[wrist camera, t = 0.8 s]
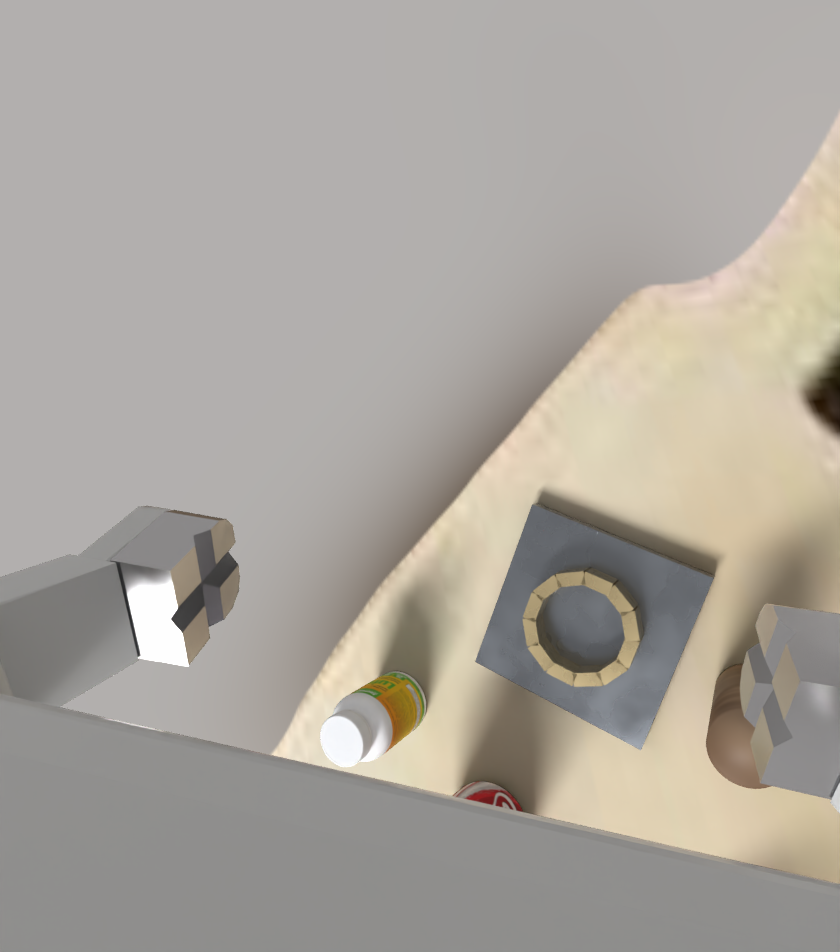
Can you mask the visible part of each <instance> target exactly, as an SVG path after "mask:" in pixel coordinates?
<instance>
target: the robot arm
mask: <svg viewBox="0 0 840 952" xmlns="http://www.w3.org/2000/svg"><path fill="white" fill-rule="evenodd" d="M234 543H235V537H234V531H233V526H232V524H231V523H230V522H229V521H228V520H226V519H222V518H217V517H211V516H205V515H200V514H194V513H189V512H183V511H177V510H170V509H166V508H159V507H152V506H141V507H138V508H136V509H135V510H134V511H133V512H131V513H130V514H129V515H128V516H126V517H125V518H124V519H123V520H122V521H120V522H119V523H118V524H117V525H115V526H114V527H113V528H112V529H110V530H109V531H108V532H107V533H105V534H104V535H103V536H102V537H101V538H99V539H98V540H97V541H96V542H95V543H93V544H92V545H91V546H90V547H88V548H87V549H86V550H85V551H83V552H82V553H81V554H80V555H78V556H76V555H66V556H63V557H60V558H57V559H54V560H51V561H48V562H45V563H42V564H39V565H36V566H33V567H30V568H26V569H24V570H20V571H17V572H14V573H11V574H8V575H5V576H2V577H0V952H840V884H838V883H834V882H829V881H825V880H820V879H816V878H811V877H807V876H802V875H798V874H793V873H789V872H784V871H780V870H775V869H771V868H766V867H762V866H757V865H753V864H748V863H744V862H739V861H735V860H731V859H726V858H722V857H717V856H713V855H709V854H704V853H700V852H696V851H691V850H687V849H682V848H678V847H674V846H669V845H665V844H661V843H656V842H652V841H647V840H643V839H639V838H634V837H630V836H626V835H621V834H617V833H612V832H608V831H604V830H599V829H595V828H591V827H586V826H582V825H577V824H573V823H569V822H564V821H560V820H556V819H551V818H547V817H542V816H538V815H534V814H529V813H525V812H521V811H516V810H512V809H508V808H503V807H499V806H494V805H490V804H486V803H481V802H477V801H472V800H468V799H464V798H459V797H455V796H450V795H446V794H441V793H437V792H432V791H428V790H424V789H419V788H415V787H410V786H406V785H401V784H397V783H393V782H388V781H384V780H379V779H375V778H370V777H366V776H362V775H357V774H353V773H348V772H344V771H339V770H335V769H330V768H326V767H322V766H317V765H313V764H308V763H304V762H299V761H295V760H291V759H286V758H282V757H277V756H273V755H268V754H264V753H260V752H255V751H251V750H246V749H242V748H237V747H233V746H228V745H224V744H220V743H215V742H211V741H206V740H202V739H198V738H193V737H189V736H184V735H180V734H175V733H171V732H167V731H162V730H158V729H153V728H149V727H145V726H140V725H135V724H131V723H127V722H123V721H118V720H114V719H109V718H105V717H101V716H96V715H92V714H87V713H83V712H79V711H74V710H69V709H65V708H61V707H60V706H62V705H64V704H66V703H67V702H69V701H71V700H72V699H74V698H76V697H77V696H79V695H81V694H83V693H84V692H86V691H88V690H89V689H91V688H93V687H94V686H96V685H98V684H99V683H101V682H103V681H105V680H106V679H108V678H110V677H111V676H113V675H115V674H116V673H118V672H120V671H122V670H123V669H125V668H127V667H128V666H130V665H132V664H134V663H135V662H137V661H138V660H139V659H138V658H143V659H148V660H154V661H160V662H166V663H172V664H177V665H184V666H189V665H190V663H191V662H192V661H193V659H194V658H195V657H196V656H197V654H198V653H199V652H200V650H201V649H202V648H203V647H204V645H205V644H206V642H207V641H208V640H209V639H210V634H209V626H212V625H214V624H216V623H218V622H220V621H222V620H224V619H225V618H226V616H227V615H228V613H229V612H230V611H231V609H232V608H233V605H234V602H235V600H236V597H237V594H238V592H239V580H240V575H239V566H238V564H237V563H236V561H235V560H234V559H233V557H232V556H231V555H230V554H229V550H230V549H231V548H232V546H233V545H234ZM755 628H756V631H757V634H758V638H759V641H760V642H759V643H758V644H756V645H755V646H753V647H752V648H750V649H749V650H747V652H746V656H745V659H744V663H743V666H742V671H741V681H740V697H741V705H742V710H743V714H744V717H745V718H746V719H747V720H748V721H749V722H750V723H751V724H752V725H753V726H754V727H755V730H754V733H753V736H752V739H751V742H750V744H751V748H752V752H753V756H754V760H755V764H756V768H757V772H758V776H759V780H760V783H762V784H766V785H770V786H775V787H779V788H783V789H788V790H792V791H796V792H801V793H805V794H809V795H814V796H818V797H823V798H827V799H831V802H830V803H831V804H832V805H833V806H834V807H835V809H836V810H837V811H838V812H839V813H840V614H837V613H830V612H823V611H816V610H809V609H802V608H795V607H788V606H781V605H774V604H767V603H766V604H765V605H764V607H763V608H762V610H761V611H760V613H759V616H758V619H757V622H756V625H755Z"/></svg>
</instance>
